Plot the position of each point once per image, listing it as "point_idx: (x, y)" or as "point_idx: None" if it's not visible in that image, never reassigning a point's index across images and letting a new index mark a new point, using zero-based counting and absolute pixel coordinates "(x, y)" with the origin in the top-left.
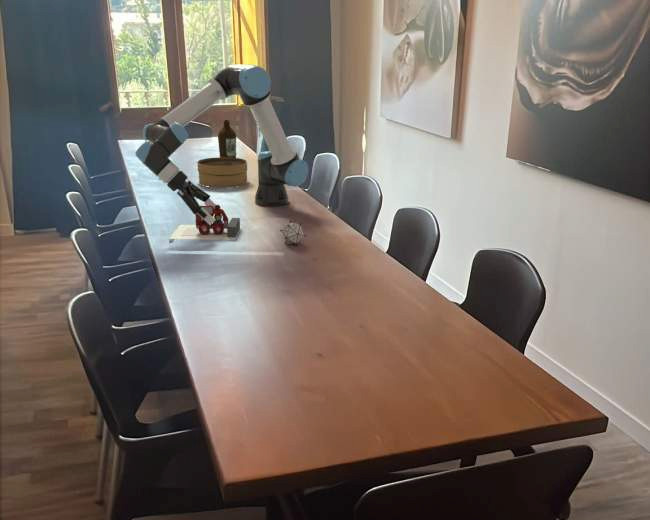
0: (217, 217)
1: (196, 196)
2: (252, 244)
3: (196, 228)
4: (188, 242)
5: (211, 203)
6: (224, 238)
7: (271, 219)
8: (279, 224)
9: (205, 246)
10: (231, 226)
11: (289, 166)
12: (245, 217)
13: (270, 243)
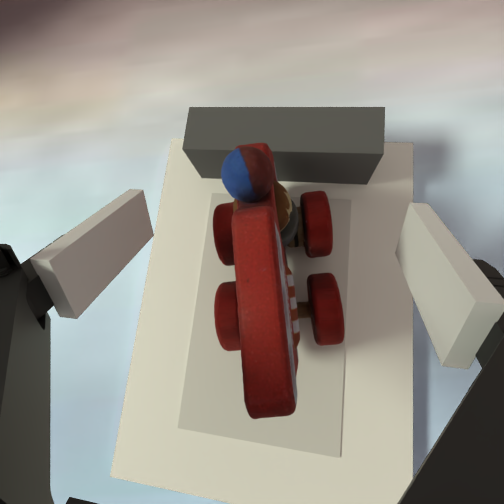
0: (291, 206)
1: (42, 421)
2: (432, 75)
3: (199, 366)
4: (417, 398)
5: (93, 246)
6: (389, 197)
7: (67, 47)
8: (141, 11)
9: None
10: (375, 128)
11: None
12: (16, 148)
13: (411, 10)
